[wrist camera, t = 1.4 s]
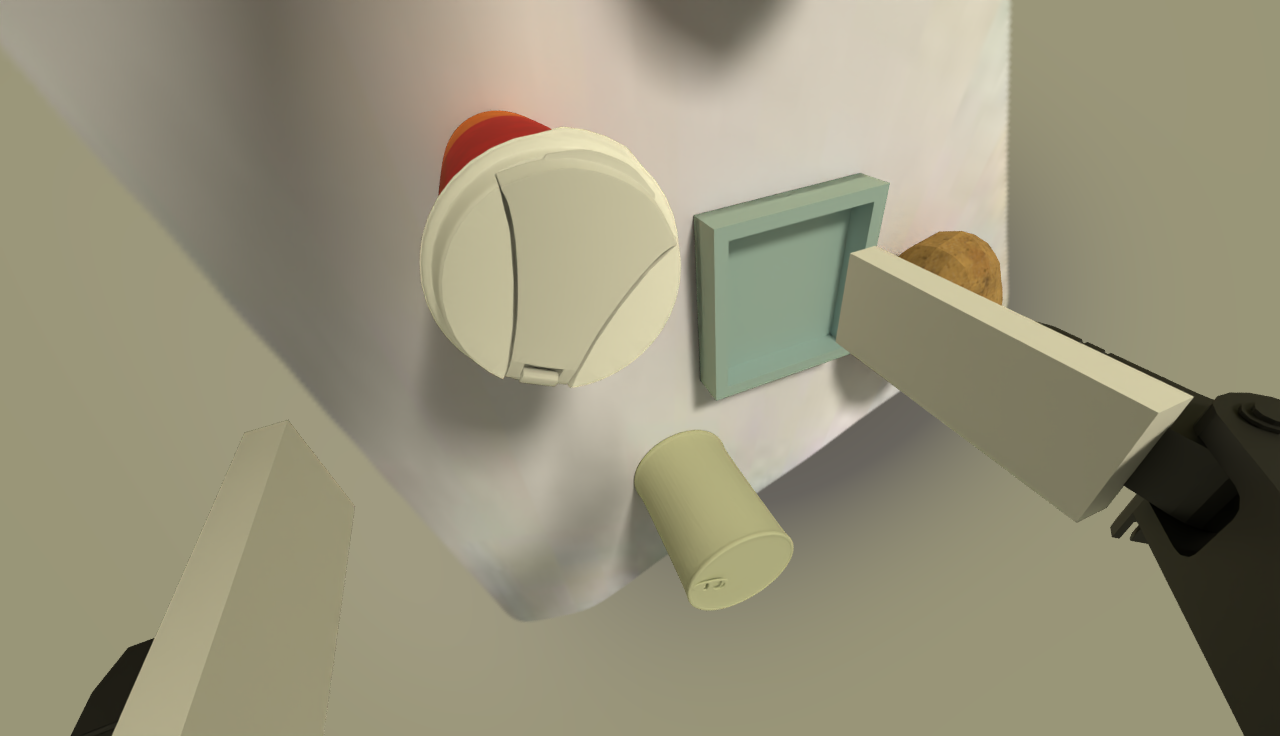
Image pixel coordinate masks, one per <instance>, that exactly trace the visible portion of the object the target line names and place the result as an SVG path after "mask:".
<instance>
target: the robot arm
mask: <svg viewBox="0 0 1280 736" xmlns="http://www.w3.org/2000/svg"><path fill="white" fill-rule="evenodd" d="M836 343H837V344H839V345H840V346H841V347H843V348H844V349H845V350H847V351H848V352H849V353H851V354H852V355H853V356H855V357H856V358H857V359H859V360H860V361H861V362H863V363H864V364H865V365H867V366H868V367H869V368H871V369H872V370H873V371H875V372H876V373H877V374H879V375H880V376H881V377H883V378H884V379H885V380H887V381H888V382H889V383H891V384H892V385H893V386H895V387H896V388H897V389H899V390H900V391H901V392H903V393H904V394H905V395H907V396H908V397H909V398H911V399H912V400H913V401H915V402H916V403H917V404H919V405H920V406H921V407H923V408H924V409H925V410H927V411H928V412H929V413H931V414H932V415H933V416H935V417H936V418H938V419H939V420H940V421H941V422H943V423H944V424H945V425H947V426H948V427H949V428H951V429H952V430H953V431H955V432H956V433H958V434H959V435H960V436H961V437H963V438H964V439H965V440H967V441H968V442H969V443H971V444H972V445H973V446H975V447H976V448H977V449H979V450H980V451H982V452H983V453H984V454H985V455H987V456H988V457H989V458H991V459H992V460H993V461H995V462H996V463H997V464H999V465H1000V466H1001V467H1003V468H1004V469H1005V470H1007V471H1008V472H1009V473H1011V474H1012V475H1013V476H1015V477H1016V478H1017V479H1019V480H1020V481H1021V482H1023V483H1024V484H1025V485H1027V486H1028V487H1029V488H1031V489H1032V490H1033V491H1035V492H1036V493H1037V494H1039V495H1040V496H1041V497H1043V498H1044V499H1045V500H1047V501H1048V502H1049V503H1051V504H1052V505H1053V506H1055V507H1056V508H1057V509H1059V510H1060V511H1061V512H1063V513H1064V514H1065V515H1067V516H1068V517H1069V518H1071V519H1072V520H1073V521H1075V522H1076V523H1077V522H1079V521H1081V520H1083V519H1085V518H1087V517H1089V516H1091V515H1093V514H1095V513H1097V512H1099V511H1101V510H1103V509H1105V508H1107V507H1108V505H1109V504H1110V503H1111V501H1112V500H1113V499H1114V498H1115V496H1116V495H1117V494H1118V493H1119V491H1120V490H1121V489H1122V488H1123V486H1125V487H1127V488H1128V489H1130V490H1132V491H1133V492H1135V493H1136V495H1135V497H1134V498H1133V499H1132V500H1131V501H1130V503H1129V504H1128V505H1127V506H1126V508H1125V509H1124V510H1123V511H1122V512H1121V514H1120V515H1119V516H1118V517H1117V519H1116V520H1115V521H1114V523H1113V524H1112V526H1111V527H1110V528H1111V534H1112V537H1115V538H1120V537H1121V536H1122V535H1123V534H1124V533H1125V532H1126V530H1127V529H1128V528H1129V527H1130V526H1131V525H1132V523H1133V522H1138V524H1139V525H1138V527H1137V528H1136V529H1135V530H1134V531H1133V532H1132V534H1131V537H1130V540H1131V541H1135V542H1141V543H1146V544H1149V546H1150V548H1151V550H1152V552H1153V554H1154V556H1155V558H1156V560H1157V562H1158V564H1159V566H1160V568H1161V570H1162V572H1163V574H1164V576H1165V578H1166V580H1167V582H1168V584H1169V586H1170V588H1171V590H1172V592H1173V594H1174V596H1175V598H1176V600H1177V602H1178V604H1179V606H1180V608H1181V610H1182V612H1183V614H1184V616H1185V618H1186V620H1187V622H1188V624H1189V626H1190V628H1191V630H1192V632H1193V634H1194V636H1195V638H1196V640H1197V642H1198V644H1199V646H1200V648H1201V650H1202V652H1203V654H1204V656H1205V658H1206V660H1207V662H1208V664H1209V666H1210V668H1211V670H1212V672H1213V674H1214V676H1215V678H1216V680H1217V682H1218V684H1219V686H1220V688H1221V690H1222V692H1223V694H1224V696H1225V698H1226V700H1227V702H1228V704H1229V706H1230V708H1231V710H1232V712H1233V714H1234V716H1235V718H1236V720H1237V722H1238V724H1239V726H1240V728H1241V730H1242V732H1243V734H1244V736H1280V400H1279V399H1276V398H1273V397H1269V396H1263V395H1258V394H1252V393H1227V394H1224V395H1220V396H1217V397H1216V399H1215V400H1213V399H1210V398H1208V397H1205V396H1203V395H1200V394H1198V393H1196V392H1193V391H1191V390H1189V389H1187V388H1185V387H1183V386H1181V385H1179V384H1176V383H1174V382H1172V381H1170V380H1168V379H1166V378H1164V377H1161V376H1159V375H1157V374H1155V373H1152V372H1150V371H1149V370H1146V369H1144V368H1142V367H1140V366H1138V365H1136V364H1133V363H1131V362H1129V361H1127V360H1125V359H1123V358H1121V357H1119V356H1116V355H1114V354H1112V353H1110V354H1106V353H1105V350H1104V349H1101V348H1099V347H1097V346H1095V345H1093V344H1090V343H1088V342H1087V343H1083V342H1082V339H1080V338H1078V337H1076V336H1074V335H1071V334H1069V333H1067V332H1065V331H1063V330H1061V329H1059V328H1056V327H1054V326H1050V325H1047V324H1043V323H1040V322H1036V321H1033V320H1031V319H1029V318H1026V317H1024V316H1022V315H1020V314H1018V313H1016V312H1014V311H1012V310H1010V309H1007V308H1005V307H1003V306H1001V305H999V304H997V303H995V302H993V301H991V300H988V299H986V298H984V297H982V296H980V295H978V294H976V293H974V292H972V291H969V290H967V289H965V288H963V287H961V286H959V285H957V284H955V283H953V282H950V281H948V280H946V279H944V278H942V277H940V276H938V275H936V274H934V273H931V272H929V271H927V270H925V269H923V268H921V267H919V266H917V265H915V264H912V263H910V262H908V261H906V260H904V259H902V258H900V257H898V256H895V255H893V254H891V253H889V252H887V251H885V250H883V249H881V248H879V247H876V246H873V247H869V248H866V249H863V250H859V251H856V252H852V253H850V257H849V263H848V269H847V275H846V281H845V288H844V294H843V300H842V306H841V312H840V318H839V324H838V330H837V336H836ZM354 510H355V506H354V504H353V503H352V502H351V501H350V499H349V498H348V497H347V495H346V494H345V493H344V491H343V490H342V489H341V488H340V486H339V485H338V484H337V482H336V481H335V480H334V479H333V477H332V476H331V475H330V473H329V472H328V471H327V470H326V468H325V467H324V466H323V464H322V463H321V462H320V461H319V459H318V458H317V457H316V455H315V454H314V453H313V451H312V450H311V449H310V448H309V446H308V445H307V444H306V443H305V441H304V440H303V439H302V437H301V436H300V435H299V434H298V432H297V431H296V430H295V428H294V427H293V426H292V424H291V423H290V422H289V421H288V420H286V421H283V422H279V423H276V424H272V425H269V426H265V427H262V428H259V429H255V430H252V431H249V432H245V433H244V435H243V437H242V439H241V442H240V444H239V446H238V448H237V451H236V453H235V455H234V458H233V460H232V462H231V464H230V467H229V469H228V471H227V474H226V476H225V479H224V480H223V483H222V485H221V487H220V490H219V492H218V494H217V496H216V499H215V501H214V503H213V506H212V508H211V510H210V512H209V515H208V517H207V519H206V522H205V524H204V526H203V529H202V531H201V533H200V536H199V538H198V540H197V542H196V545H195V547H194V549H193V551H192V554H191V556H190V559H189V561H188V563H187V565H186V567H185V570H184V572H183V574H182V577H181V579H180V581H179V583H178V586H177V589H176V590H175V593H174V595H173V597H172V599H171V602H170V604H169V606H168V609H167V611H166V613H165V615H164V618H163V620H162V622H161V625H160V627H159V629H158V631H157V634H156V636H155V638H153V639H150V640H148V641H145V642H142V643H139V644H137V645H134V646H131V647H129V648H128V649H127V650H126V651H125V652H124V654H123V655H122V656H121V657H120V658H119V660H118V661H117V663H116V664H115V665H114V666H113V667H112V668H111V670H110V671H109V672H108V673H107V675H106V676H105V677H104V678H103V680H102V681H101V682H100V683H99V685H98V686H97V687H96V688H95V690H94V691H93V692H92V694H91V696H90V698H89V700H88V702H87V704H86V706H85V708H84V710H83V712H82V714H81V716H80V718H79V720H78V722H77V724H76V726H75V728H74V730H73V732H72V734H71V736H324V729H325V722H326V714H327V707H328V699H329V693H330V685H331V678H332V670H333V663H334V656H335V648H336V641H337V634H338V627H339V619H340V612H341V605H342V597H343V590H344V582H345V576H346V568H347V561H348V554H349V546H350V539H351V532H352V525H353V517H354Z"/></svg>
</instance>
